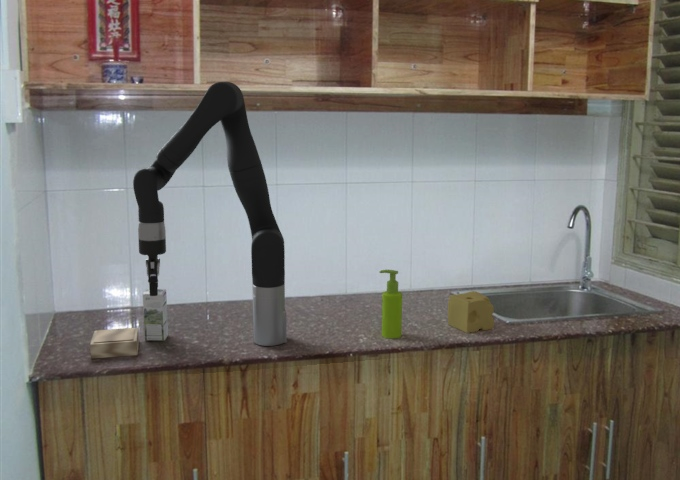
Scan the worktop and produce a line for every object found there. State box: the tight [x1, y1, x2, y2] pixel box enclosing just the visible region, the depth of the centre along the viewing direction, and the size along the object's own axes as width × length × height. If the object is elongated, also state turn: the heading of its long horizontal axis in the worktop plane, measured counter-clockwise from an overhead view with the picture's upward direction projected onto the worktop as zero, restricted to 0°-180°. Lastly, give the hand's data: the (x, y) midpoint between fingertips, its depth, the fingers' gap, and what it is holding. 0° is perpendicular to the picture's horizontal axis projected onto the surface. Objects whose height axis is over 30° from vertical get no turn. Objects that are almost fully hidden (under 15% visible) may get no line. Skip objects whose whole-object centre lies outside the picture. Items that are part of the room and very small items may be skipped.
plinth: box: [89, 327, 140, 360], centre depth 189 cm, size 12×12×4 cm
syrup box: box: [142, 288, 169, 342], centre depth 197 cm, size 6×6×14 cm
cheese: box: [447, 290, 495, 334], centre depth 210 cm, size 10×11×10 cm
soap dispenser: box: [379, 269, 403, 340], centre depth 201 cm, size 6×7×20 cm
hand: (154, 291), depth 196 cm, fingers open, 8 cm apart
